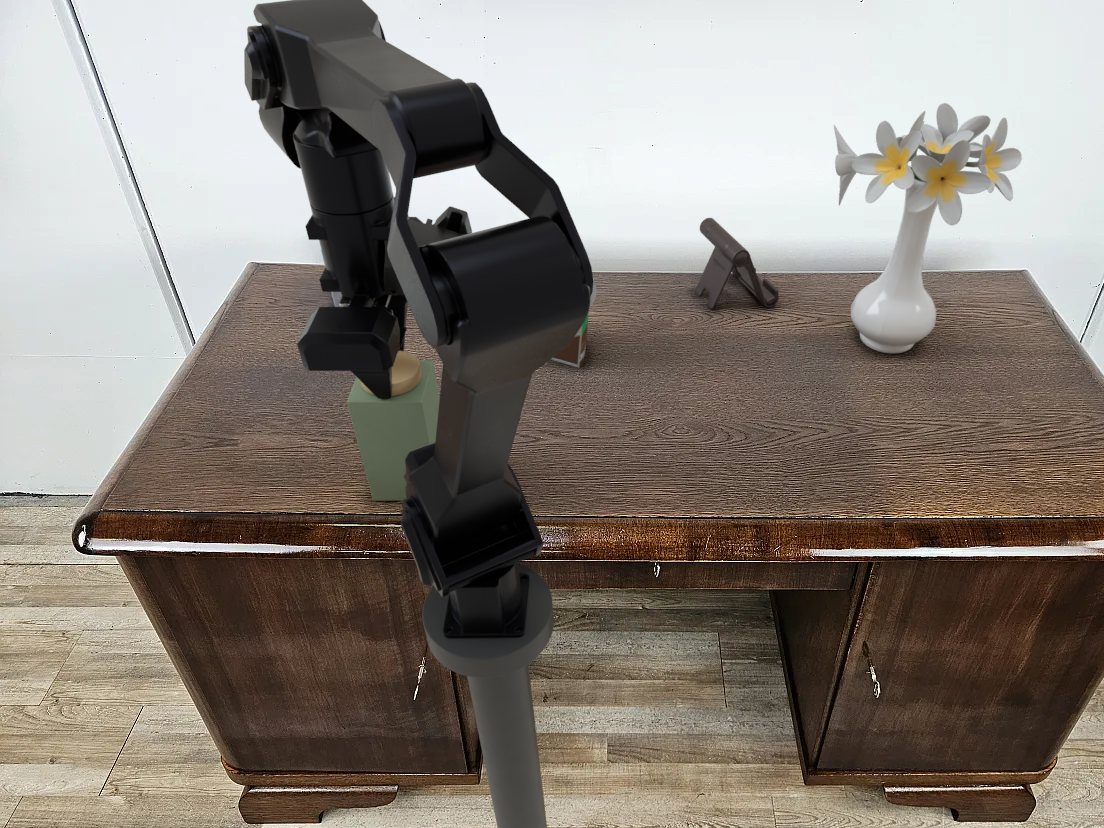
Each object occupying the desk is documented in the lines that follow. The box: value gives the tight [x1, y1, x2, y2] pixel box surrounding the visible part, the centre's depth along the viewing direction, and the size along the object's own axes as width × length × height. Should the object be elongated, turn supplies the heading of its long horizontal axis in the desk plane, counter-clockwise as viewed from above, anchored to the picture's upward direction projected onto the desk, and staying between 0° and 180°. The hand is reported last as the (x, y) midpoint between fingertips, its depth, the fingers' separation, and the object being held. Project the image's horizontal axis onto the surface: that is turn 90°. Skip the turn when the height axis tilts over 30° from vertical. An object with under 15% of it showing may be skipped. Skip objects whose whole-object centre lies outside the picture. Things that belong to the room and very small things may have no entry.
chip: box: [359, 350, 422, 396], centre depth 70 cm, size 5×5×1 cm
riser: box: [346, 359, 440, 502], centre depth 74 cm, size 6×6×11 cm
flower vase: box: [833, 102, 1023, 355], centre depth 88 cm, size 13×18×25 cm
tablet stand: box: [694, 217, 779, 310], centre depth 100 cm, size 9×8×8 cm
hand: (391, 378), depth 70 cm, fingers closed on chip, 5 cm apart
